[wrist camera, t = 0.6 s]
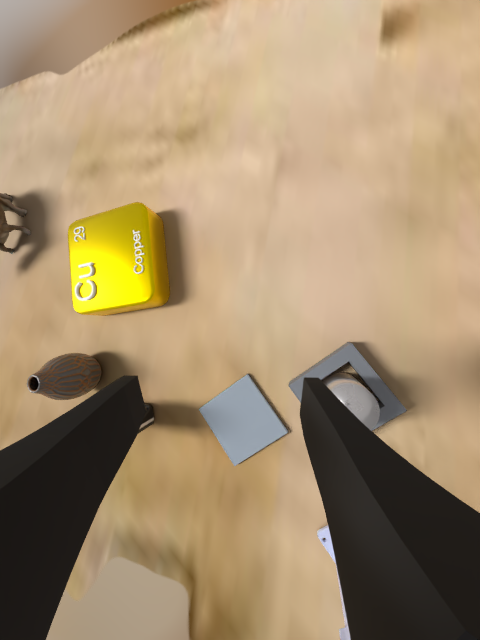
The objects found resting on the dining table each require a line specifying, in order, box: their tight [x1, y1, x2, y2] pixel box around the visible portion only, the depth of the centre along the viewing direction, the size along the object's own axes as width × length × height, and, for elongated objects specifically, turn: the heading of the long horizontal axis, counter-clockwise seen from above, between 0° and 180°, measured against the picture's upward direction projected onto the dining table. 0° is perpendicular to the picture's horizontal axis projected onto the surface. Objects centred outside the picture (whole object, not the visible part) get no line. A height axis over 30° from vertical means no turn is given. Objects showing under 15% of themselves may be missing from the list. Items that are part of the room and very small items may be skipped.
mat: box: [199, 374, 288, 466], centre depth 31 cm, size 9×9×1 cm
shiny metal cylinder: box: [322, 372, 380, 430], centre depth 25 cm, size 5×5×6 cm
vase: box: [27, 353, 101, 400], centre depth 34 cm, size 7×7×9 cm
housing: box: [289, 342, 407, 431], centre depth 27 cm, size 9×9×2 cm
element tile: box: [68, 202, 170, 316], centre depth 35 cm, size 15×15×5 cm
